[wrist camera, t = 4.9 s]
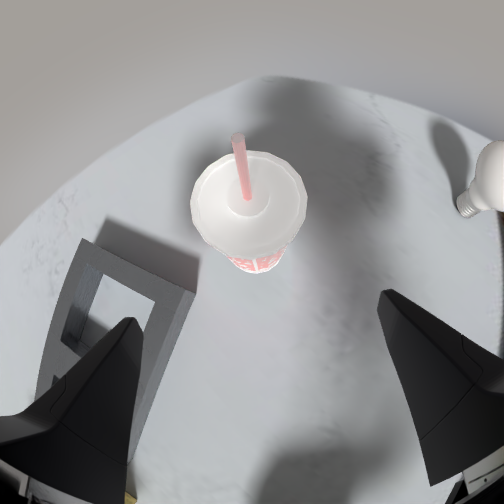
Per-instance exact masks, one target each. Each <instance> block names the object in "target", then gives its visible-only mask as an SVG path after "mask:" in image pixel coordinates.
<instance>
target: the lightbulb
mask: <svg viewBox="0 0 504 504" xmlns="http://www.w3.org/2000/svg"><path fill="white" fill-rule="evenodd" d="M456 203H457V207H458V210H459V212H460V213H461V214H462V215H463V216H464V217H466V218H471V217H473V216H474V215H476V214H477V213H479V212H480V211H486V210H490V209H495V210H498V211H501V212H504V141H501V140H499V141H494V142H491V143H489V144H488V145H487V146H485V147H484V148H483V150H482V151H481V153H480V154H479V157H478V159H477V163H476V170H475V177H474V179H473V180H472V182H471V183H470V186H469V188H468V189H467V190H465V191H464V192H463V193H461V194H460V195H459V196H458V197H457V200H456Z"/></svg>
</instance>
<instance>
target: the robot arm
mask: <svg viewBox="0 0 504 504" xmlns="http://www.w3.org/2000/svg"><path fill="white" fill-rule="evenodd" d="M377 311H378V316H379V319H380V322H381V326H382V329H383V333H384V336H385V340H386V344H387V347H388V350H389V353H390V355H391V358H392V360H393V363H394V366H395V368H396V371H397V374H398V376H399V379H400V382H401V385H402V388H403V391H404V393H405V396H406V399H407V402H408V405H409V408H410V412H411V415H412V418H413V421H414V425H415V428H416V431H417V435H418V438H419V442H420V446H421V450H422V454H423V458H424V462H425V466H426V470H427V474H428V479H429V483H430V486H433V485H436V484H438V483H440V482H442V481H444V480H446V479H449V478H451V477H453V476H454V475H456V474H458V473H460V472H462V474H463V477H464V478H463V479H462V480H460V481H458V482H457V483H455V485H454V487H453V489H452V491H451V493H450V495H449V497H448V499H447V501H446V503H445V504H504V360H503V359H501V358H499V357H498V356H496V355H494V354H492V353H491V352H489V351H487V350H486V349H484V348H482V347H481V346H479V345H477V344H476V343H474V342H473V341H471V340H470V339H468V338H467V337H465V336H464V335H461V333H459V332H458V331H457V330H455V329H454V328H452V327H451V326H449V325H448V324H446V323H445V322H443V321H442V320H440V319H439V318H437V317H435V316H434V315H432V314H431V313H429V312H428V311H426V310H425V309H423V308H422V307H420V306H419V305H417V304H415V303H414V302H412V301H411V300H409V299H408V298H406V297H404V296H403V295H401V294H400V293H398V292H396V291H395V290H393V289H387V290H383V291H382V292H381V294H380V298H379V303H378V307H377ZM143 341H144V335H143V331H142V329H141V328H140V326H139V324H138V322H137V320H136V319H135V318H134V317H126V318H124V319H122V320H121V321H120V322H119V323H118V324H117V325H116V326H115V327H114V328H113V329H112V330H110V331H109V332H108V333H107V334H106V335H105V336H104V337H103V338H102V339H101V340H100V341H99V342H98V343H97V344H96V345H94V346H93V347H92V348H91V349H90V350H89V351H88V352H87V353H86V354H85V355H84V356H83V357H82V358H81V359H80V360H79V361H78V362H77V363H76V364H75V365H74V366H73V367H72V368H70V369H69V370H68V371H67V372H66V374H64V375H63V376H62V377H61V378H60V379H59V380H58V381H57V382H56V383H55V384H54V385H53V386H52V387H51V388H50V389H49V390H47V391H46V392H45V393H44V394H43V395H42V396H40V397H39V398H38V399H37V400H36V401H35V402H33V403H32V404H31V405H30V406H29V407H28V408H26V409H25V410H24V411H23V412H21V413H19V414H16V415H11V416H0V504H125V487H126V474H127V461H128V452H129V443H130V435H131V427H132V420H133V414H134V407H135V401H136V395H137V389H138V384H139V378H140V372H141V362H142V351H143Z"/></svg>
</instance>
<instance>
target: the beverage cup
mask: <svg viewBox="0 0 504 504" xmlns="http://www.w3.org/2000/svg"><path fill="white" fill-rule="evenodd" d="M231 141H232V146H233V151H234V153H232V154H228V155H225V156H223V157H222V158H220V159H219V160H217V161H215V162H214V163H212V164H211V165H209V166H208V167H207V168H206V169H205V171H204V172H203V173H202V174H201V176H200V177H199V178H198V180H197V181H196V182H195V185H194V189H193V192H192V196H191V200H190V207H191V214H192V220H193V224H194V225H195V227H196V228H197V230H198V231H199V233H200V234H201V236H202V237H203V239H204V240H205V241H206V243H208V244H209V245H210V246H211V247H213V248H215V249H216V250H218V251H219V252H221V253H223V254H224V255H226V256H227V257H228V258H229V259H230V260H231V261H232V262H233V263H234V264H235V265H236V266H237V267H239V268H240V269H242V270H244V271H245V272H250V273H261V272H265V271H268V270H270V269H271V268H273V267H274V266H275V265H277V263H278V262H279V260H280V258H281V257H282V255H283V253H284V251H285V249H286V247H287V245H288V244H289V243H290V242H292V240H293V239H294V237H295V235H296V234H297V232H298V230H299V229H300V227H301V225H302V224H303V222H304V220H305V217H306V207H307V198H308V196H307V193H306V190H305V187H304V184H303V181H302V178H301V176H300V175H299V174H298V173H297V172H296V171H295V170H294V169H293V168H292V167H291V165H290V164H289V163H288V162H287V161H285V160H283V159H281V158H279V157H276V156H274V155H272V154H270V153H268V152H260V151H250V150H246V145H245V138H244V135H243V134H241V133H235V134H233V135H232V136H231Z"/></svg>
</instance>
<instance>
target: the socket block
mask: <svg viewBox="0 0 504 504" xmlns="http://www.w3.org/2000/svg"><path fill="white" fill-rule="evenodd" d="M103 273H104V274H105V275H107V276H109V277H111V278H112V279H114V280H116V281H118V282H119V283H121V284H123V285H125V286H127V287H129V288H130V289H132V290H134V291H136V292H138V293H140V294H142V295H143V296H145V297H147V298H149V299H151V300H153V301H155V304H154V307H153V309H152V312H151V314H150V317H149V319H148V322H147V324H146V327H145V330H144V332H143V335H144V341H143V351H142V362H141V372H140V378H139V384H138V389H137V395H136V401H135V407H134V414H133V420H132V427H131V435H130V443H129V452H128V461H127V463H128V462H130V461H131V460H132V459H133V456H134V453H135V450H136V447H137V444H138V442H139V439H140V436H141V433H142V430H143V427H144V425H145V422H146V419H147V416H148V414H149V411H150V408H151V406H152V403H153V400H154V398H155V395H156V392H157V390H158V387H159V384H160V382H161V379H162V377H163V374H164V371H165V369H166V366H167V364H168V361H169V359H170V356H171V354H172V351H173V349H174V346H175V344H176V341H177V339H178V336H179V334H180V331H181V329H182V326H183V324H184V322H185V319H186V317H187V314H188V312H189V310H190V307H191V305H192V302H193V300H194V298H195V295H196V294H195V293H193V292H191V291H189V290H187V289H184V288H182V287H180V286H178V285H176V284H173V283H171V282H169V281H167V280H165V279H163V278H161V277H159V276H156V275H154V274H152V273H150V272H148V271H146V270H144V269H142V268H140V267H138V266H136V265H134V264H132V263H130V262H128V261H126V260H124V259H122V258H120V257H118V256H116V255H114V254H112V253H110V252H109V251H107V250H105V249H103V248H101V247H99V246H97V245H95V244H93V243H91V242H89V241H87V240H85V239H83V238H82V240H81V242H80V244H79V246H78V249H77V251H76V253H75V256H74V258H73V261H72V263H71V266H70V268H69V271H68V273H67V276H66V279H65V281H64V284H63V287H62V290H61V292H60V295H59V298H58V301H57V304H56V308H55V311H54V314H53V317H52V321H51V324H50V328H49V331H48V335H47V339H46V343H45V347H44V351H43V356H42V360H41V365H40V370H39V375H38V381H37V387H36V394H35V401H36V400H37V399H38V398H39V397H40V396H42V395H43V394H44V393H45V392H46V391H47V390H49V389H50V388H51V387H52V386H53V385H54V384H55V383H56V382H57V381H58V380H59V379H60V378H61V377H62V376H63V375H64V374H66V372H67V371H68V370H69V369H70V368H72V367H73V366H74V365H75V364H76V363H77V362H78V361H79V360H80V359H81V358H82V357H83V356H84V355H85V354H86V353H87V352H88V351H89V350H90V348H89V347H88V346H86V345H85V344H84V343H82V342H81V341H80V337H81V333H82V330H83V327H84V324H85V321H86V318H87V315H88V312H89V310H90V307H91V304H92V301H93V299H94V296H95V293H96V291H97V288H98V286H99V283H100V281H101V278H102V276H103ZM35 401H34V402H35Z"/></svg>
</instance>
